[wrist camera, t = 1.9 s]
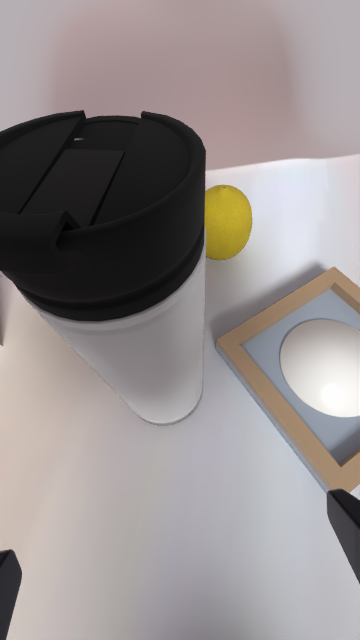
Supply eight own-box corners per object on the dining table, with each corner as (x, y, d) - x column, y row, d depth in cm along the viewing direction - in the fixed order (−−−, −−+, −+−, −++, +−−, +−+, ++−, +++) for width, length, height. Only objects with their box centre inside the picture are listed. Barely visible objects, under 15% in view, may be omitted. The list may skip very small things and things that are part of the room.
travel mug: (117, 424, 23) (-161, 234, 5) (136, 346, 26) (2, 66, 8) (197, 436, 22) (183, 262, 4) (206, 355, 25) (221, 64, 8)
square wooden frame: (329, 497, 19) (342, 499, 18) (215, 348, 25) (216, 339, 23) (453, 391, 22) (475, 384, 20) (325, 279, 28) (334, 266, 26)
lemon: (253, 268, 29) (270, 201, 22) (201, 281, 29) (201, 218, 22) (234, 230, 32) (244, 160, 25) (186, 242, 31) (182, 174, 24)
